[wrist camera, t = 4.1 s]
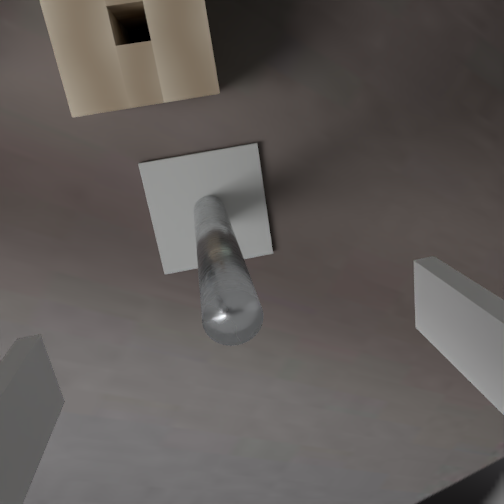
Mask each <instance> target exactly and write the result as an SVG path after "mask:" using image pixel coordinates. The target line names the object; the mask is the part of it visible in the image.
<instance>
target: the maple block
mask: <svg viewBox="0 0 504 504" xmlns="http://www.w3.org/2000/svg"><path fill="white" fill-rule="evenodd" d="M39 1H40V4H41V8H42V11H43V15H44V18H45V22H46V26H47V29H48V33H49V36H50V40H51V43H52V47H53V50H54V54H55V58H56V61H57V65H58V68H59V72H60V75H61V79H62V83H63V86H64V90H65V93H66V97H67V100H68V104H69V107H70V111H71V115H72V117H79V116H85V115H91V114H97V113H103V112H109V111H116V110H122V109H128V108H134V107H140V106H147V105H153V104H159V103H165V102H171V101H177V100H184V99H190V98H196V97H202V96H208V95H215V94H220V90H219V84H218V78H217V72H216V66H215V60H214V54H213V48H212V42H211V36H210V30H209V24H208V18H207V12H206V6H205V0H39ZM148 28H149V33H150V38H151V41H145V42H138V43H132V44H131V43H130V38H129V34H128V31H134V30H141V29H148Z"/></svg>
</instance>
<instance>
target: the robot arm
mask: <svg viewBox="0 0 504 504" xmlns="http://www.w3.org/2000/svg"><path fill="white" fill-rule="evenodd" d="M414 290H415V323H416V328H417V329H418V330H419V331H420V332H421V333H422V334H423V335H424V336H425V337H426V338H427V339H428V340H429V341H430V342H431V343H432V344H433V345H434V346H435V347H436V348H437V349H438V350H439V351H440V352H441V353H442V354H443V355H444V356H445V357H446V358H447V359H448V360H449V361H450V362H451V363H452V364H453V365H454V366H455V367H456V368H457V369H458V370H459V371H460V372H461V373H462V374H463V375H464V376H465V377H466V378H467V379H468V380H469V381H470V382H471V383H472V384H473V385H474V386H475V387H476V388H477V389H478V390H479V391H480V392H481V393H482V394H483V395H484V396H485V397H486V398H487V399H488V400H489V401H490V402H491V403H492V404H493V405H494V406H495V407H496V408H497V409H498V410H499V411H500V412H501V413H502V414H503V415H504V300H503V299H501V298H499V297H498V296H496V295H495V294H493V293H492V292H490V291H488V290H487V289H485V288H484V287H482V286H480V285H479V284H477V283H476V282H474V281H472V280H471V279H469V278H468V277H466V276H465V275H463V274H461V273H460V272H458V271H457V270H455V269H453V268H452V267H450V266H449V265H447V264H445V263H444V262H442V261H441V260H439V259H438V258H436V257H434V256H433V257H428V258H422V259H417V260H414ZM64 402H65V401H64V398H63V395H62V393H61V390H60V387H59V384H58V382H57V379H56V376H55V373H54V370H53V368H52V365H51V362H50V359H49V356H48V354H47V351H46V348H45V345H44V343H43V340H42V337H41V334H39V335H34V336H29V337H24V338H19V339H17V340H16V341H15V343H14V344H13V345H12V347H11V348H10V349H9V351H8V352H7V354H6V355H5V356H4V358H3V359H2V361H1V362H0V504H23V502H24V499H25V497H26V494H27V492H28V489H29V487H30V485H31V482H32V480H33V477H34V475H35V472H36V470H37V468H38V465H39V463H40V460H41V458H42V455H43V453H44V450H45V448H46V446H47V443H48V441H49V438H50V436H51V433H52V431H53V429H54V426H55V424H56V421H57V419H58V416H59V414H60V412H61V409H62V407H63V404H64Z"/></svg>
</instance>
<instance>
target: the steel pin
mask: <svg viewBox="0 0 504 504" xmlns="http://www.w3.org/2000/svg"><path fill="white" fill-rule="evenodd" d="M193 212H194V225H195V237H196V249H197V262H198V274H199V286H200V299H201V311H202V323H203V327H204V330H205V332H206V333H207V335H208V336H209V337H210V338H211V339H212V340H214V341H215V342H217V343H220V344H223V345H230V346H232V345H239V344H243V343H245V342H247V341H249V340H250V339H252V338H253V337H254V336H255V335H256V334H257V333H258V331H259V330H260V328H261V326H262V323H263V310H262V307H261V304H260V301H259V299H258V296H257V293H256V291H255V288H254V285H253V282H252V280H251V277H250V274H249V272H248V269H247V266H246V263H245V261H244V258H243V255H242V253H241V250H240V247H239V244H238V242H237V239H236V236H235V234H234V231H233V228H232V225H231V223H230V220H229V217H228V214H227V212H226V209H225V206H224V204H223V202H222V201H221V200H220V199H219V198H217V197H215V196H204V197H202V198H200V199H199V200H198V201H197V202H196V203H195V206H194V210H193Z"/></svg>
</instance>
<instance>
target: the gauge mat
mask: <svg viewBox="0 0 504 504" xmlns="http://www.w3.org/2000/svg"><path fill="white" fill-rule="evenodd" d="M138 165H139V169H140V173H141V178H142V182H143V186H144V190H145V194H146V199H147V203H148V207H149V211H150V215H151V219H152V224H153V228H154V232H155V236H156V240H157V244H158V249H159V253H160V257H161V261H162V265H163V270H164V274H170V273H175V272H180V271H185V270H190V269H196V268H198V262H197V249H196V237H195V225H194V212H193V210H194V206H195V203H196V202H197V201H198V200H199V199H200V198H202V197H204V196H215V197H217V198H219V199H220V200H221V201H222V202H223V204H224V206H225V209H226V212H227V214H228V217H229V220H230V223H231V225H232V228H233V231H234V234H235V236H236V239H237V242H238V244H239V247H240V250H241V253H242V255H243V258H244V259H247V258H252V257H257V256H263V255H268V254H273V249H272V242H271V235H270V228H269V221H268V214H267V207H266V200H265V193H264V186H263V179H262V173H261V166H260V159H259V152H258V145H257V143H252V144H246V145H240V146H234V147H228V148H223V149H217V150H211V151H205V152H199V153H194V154H188V155H182V156H176V157H170V158H164V159H159V160H153V161H147V162H141V163H138Z"/></svg>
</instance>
